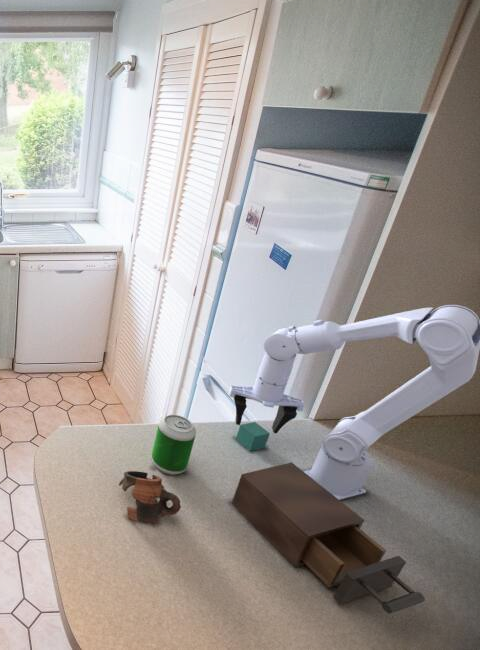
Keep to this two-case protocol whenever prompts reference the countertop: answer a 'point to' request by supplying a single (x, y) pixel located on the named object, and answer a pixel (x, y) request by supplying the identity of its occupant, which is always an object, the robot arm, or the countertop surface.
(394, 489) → the countertop surface
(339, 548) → the drawer
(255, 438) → the block
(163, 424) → the soda can
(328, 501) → the cabinet
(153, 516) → the pottery mug
